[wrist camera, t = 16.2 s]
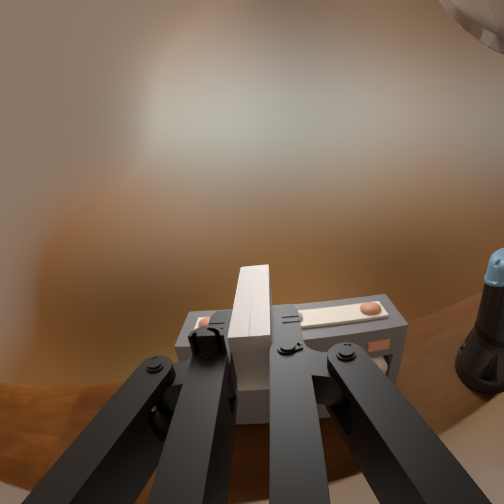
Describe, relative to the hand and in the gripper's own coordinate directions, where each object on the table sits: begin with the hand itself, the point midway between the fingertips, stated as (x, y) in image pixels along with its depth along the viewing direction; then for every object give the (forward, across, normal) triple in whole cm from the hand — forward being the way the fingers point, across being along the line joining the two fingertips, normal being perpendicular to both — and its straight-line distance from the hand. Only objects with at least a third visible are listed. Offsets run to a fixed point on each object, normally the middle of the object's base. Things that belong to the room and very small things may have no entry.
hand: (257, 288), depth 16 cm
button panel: (+18, +2, -31) cm, 36 cm away
